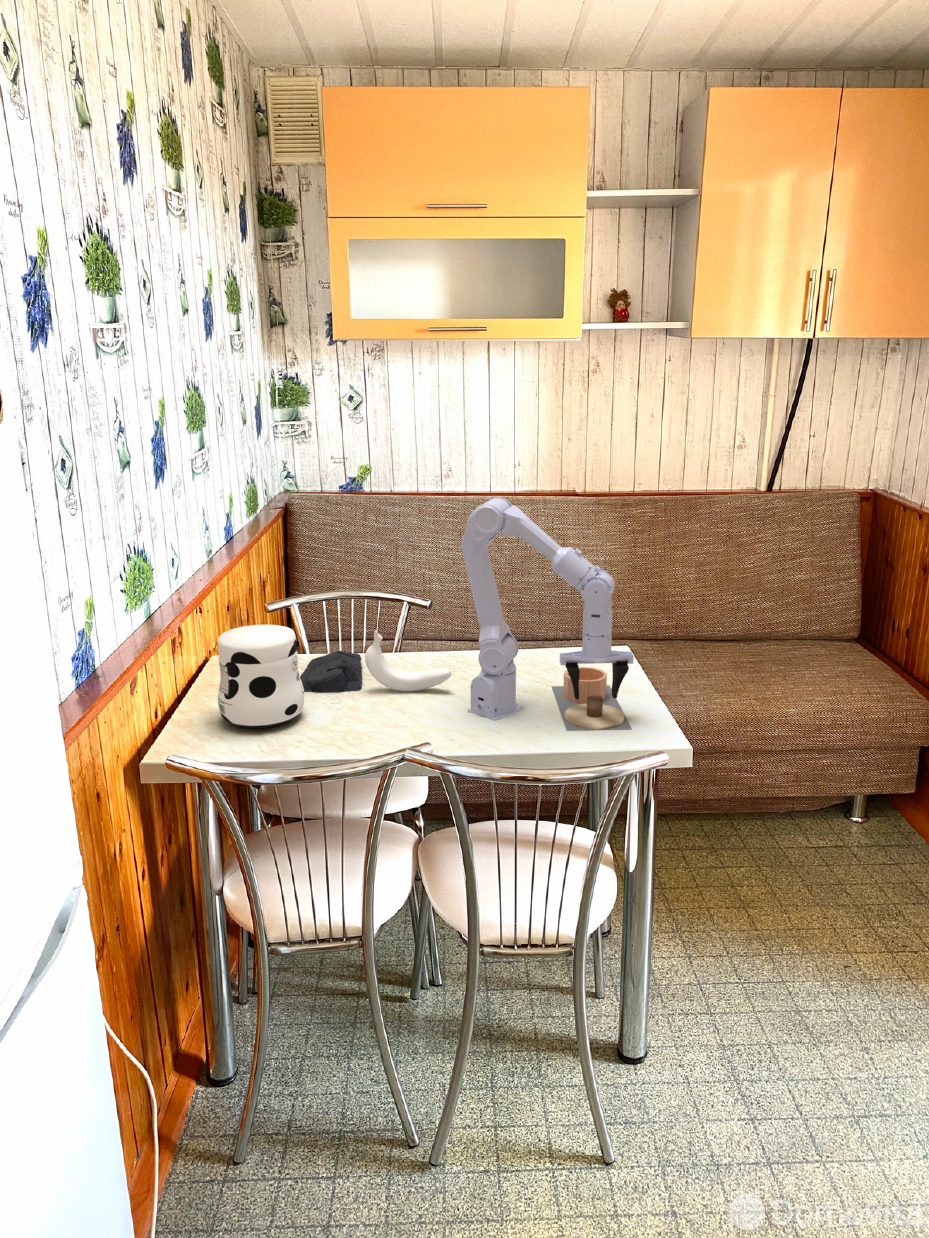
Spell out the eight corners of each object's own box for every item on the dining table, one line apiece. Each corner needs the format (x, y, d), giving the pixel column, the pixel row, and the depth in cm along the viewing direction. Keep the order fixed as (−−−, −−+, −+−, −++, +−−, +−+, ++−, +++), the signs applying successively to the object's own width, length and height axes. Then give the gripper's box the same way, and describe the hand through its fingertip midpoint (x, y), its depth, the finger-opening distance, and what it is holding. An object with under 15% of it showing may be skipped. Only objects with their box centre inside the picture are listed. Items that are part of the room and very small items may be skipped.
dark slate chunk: (370, 662, 226) (370, 643, 225) (360, 694, 205) (359, 674, 204) (308, 662, 226) (306, 644, 225) (291, 695, 205) (290, 674, 204)
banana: (451, 695, 203) (450, 631, 199) (365, 695, 203) (362, 631, 199) (452, 687, 208) (451, 624, 204) (367, 687, 208) (364, 625, 204)
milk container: (320, 708, 196) (316, 627, 191) (277, 740, 181) (271, 652, 176) (249, 699, 202) (243, 619, 197) (202, 728, 186) (194, 643, 181)
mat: (632, 731, 183) (632, 729, 183) (566, 732, 183) (566, 730, 183) (609, 686, 207) (609, 685, 207) (551, 687, 207) (551, 686, 207)
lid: (601, 734, 181) (602, 714, 180) (552, 718, 189) (553, 699, 188) (635, 717, 189) (636, 697, 188) (587, 702, 197) (588, 683, 196)
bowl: (589, 706, 195) (590, 684, 193) (555, 696, 201) (555, 674, 199) (614, 695, 201) (614, 673, 200) (580, 685, 207) (580, 664, 206)
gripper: (563, 639, 180) (562, 705, 184) (637, 638, 180) (635, 703, 184) (558, 629, 187) (557, 692, 190) (630, 627, 187) (628, 690, 191)
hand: (595, 697), depth 188 cm, fingers open, 7 cm apart
